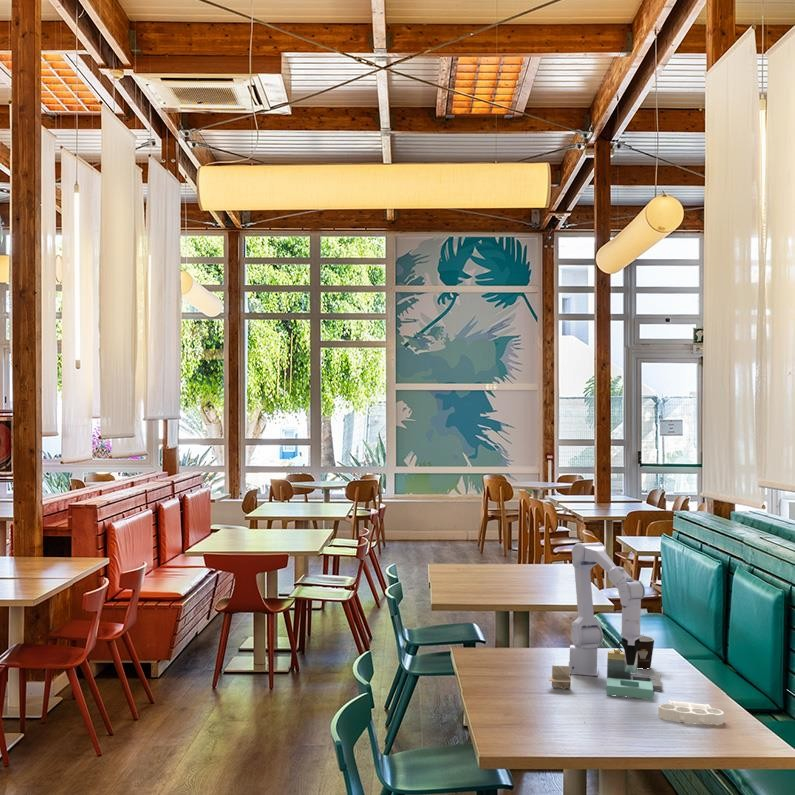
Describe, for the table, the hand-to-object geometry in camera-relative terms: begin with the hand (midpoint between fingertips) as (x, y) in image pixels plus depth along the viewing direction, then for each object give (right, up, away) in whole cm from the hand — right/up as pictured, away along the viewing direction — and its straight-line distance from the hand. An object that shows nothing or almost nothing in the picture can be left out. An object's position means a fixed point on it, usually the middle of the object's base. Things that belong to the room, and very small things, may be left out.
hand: (630, 663), depth 282 cm
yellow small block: (-1, -2, +12) cm, 12 cm away
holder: (0, -9, 0) cm, 9 cm away
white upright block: (0, -3, 0) cm, 3 cm away
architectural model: (-21, -10, +3) cm, 24 cm away
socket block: (+4, -10, +10) cm, 15 cm away
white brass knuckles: (+12, -10, -22) cm, 27 cm away
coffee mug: (+10, -11, +31) cm, 35 cm away
